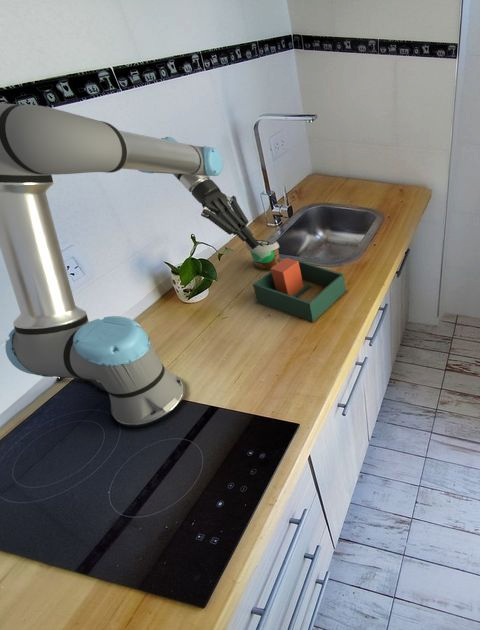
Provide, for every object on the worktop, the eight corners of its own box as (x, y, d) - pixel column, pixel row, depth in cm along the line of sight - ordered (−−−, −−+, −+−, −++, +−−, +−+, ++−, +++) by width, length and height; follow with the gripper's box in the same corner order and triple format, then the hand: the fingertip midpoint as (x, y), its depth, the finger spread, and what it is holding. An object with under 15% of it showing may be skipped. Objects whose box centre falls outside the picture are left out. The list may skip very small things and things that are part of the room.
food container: (244, 268, 143) (237, 243, 136) (254, 259, 147) (248, 235, 141) (274, 274, 140) (268, 250, 134) (283, 265, 145) (278, 241, 138)
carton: (277, 296, 130) (270, 268, 123) (292, 285, 136) (286, 257, 129) (289, 300, 129) (283, 272, 122) (304, 288, 134) (298, 261, 127)
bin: (257, 302, 128) (252, 284, 123) (293, 274, 140) (290, 257, 136) (313, 322, 121) (309, 304, 116) (345, 291, 134) (343, 274, 129)
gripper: (213, 185, 128) (265, 243, 134) (179, 200, 119) (236, 261, 124) (221, 172, 123) (274, 232, 128) (186, 186, 114) (245, 250, 119)
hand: (255, 246), depth 126 cm, fingers closed
